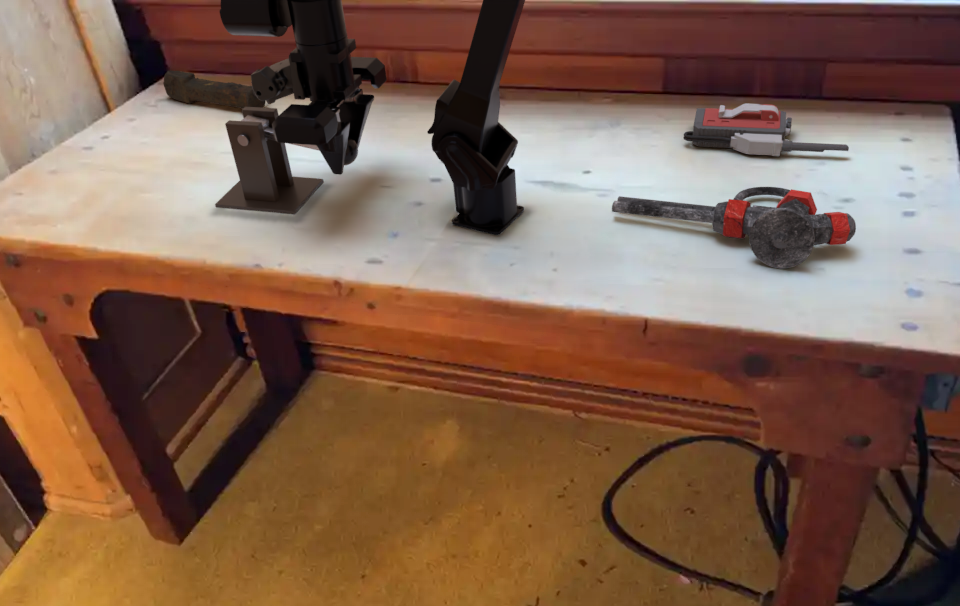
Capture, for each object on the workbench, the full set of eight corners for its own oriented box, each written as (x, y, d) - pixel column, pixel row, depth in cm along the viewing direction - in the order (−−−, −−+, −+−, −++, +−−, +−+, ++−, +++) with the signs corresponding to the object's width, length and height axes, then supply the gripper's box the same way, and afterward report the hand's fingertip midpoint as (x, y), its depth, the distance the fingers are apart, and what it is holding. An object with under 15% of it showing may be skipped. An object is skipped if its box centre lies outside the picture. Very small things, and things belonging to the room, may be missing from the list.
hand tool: (270, 106, 139) (263, 77, 136) (253, 116, 136) (246, 87, 133) (180, 91, 147) (172, 63, 144) (163, 101, 144) (154, 72, 142)
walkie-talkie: (680, 154, 116) (847, 162, 111) (683, 122, 113) (853, 129, 108) (687, 125, 122) (844, 132, 117) (689, 94, 119) (850, 99, 114)
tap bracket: (324, 187, 116) (308, 103, 109) (295, 220, 110) (276, 133, 103) (249, 181, 119) (228, 99, 112) (217, 212, 113) (192, 128, 106)
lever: (362, 160, 109) (362, 132, 107) (351, 173, 106) (350, 146, 104) (252, 134, 112) (250, 107, 109) (238, 147, 109) (235, 120, 107)
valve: (862, 226, 102) (843, 279, 91) (640, 201, 113) (599, 245, 101) (871, 172, 99) (853, 219, 88) (642, 151, 110) (600, 191, 98)
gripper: (292, 7, 108) (316, 129, 117) (213, 65, 94) (248, 198, 104) (378, 9, 105) (396, 134, 114) (309, 70, 91) (336, 206, 101)
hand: (344, 166), depth 108 cm, fingers closed on lever, 3 cm apart
